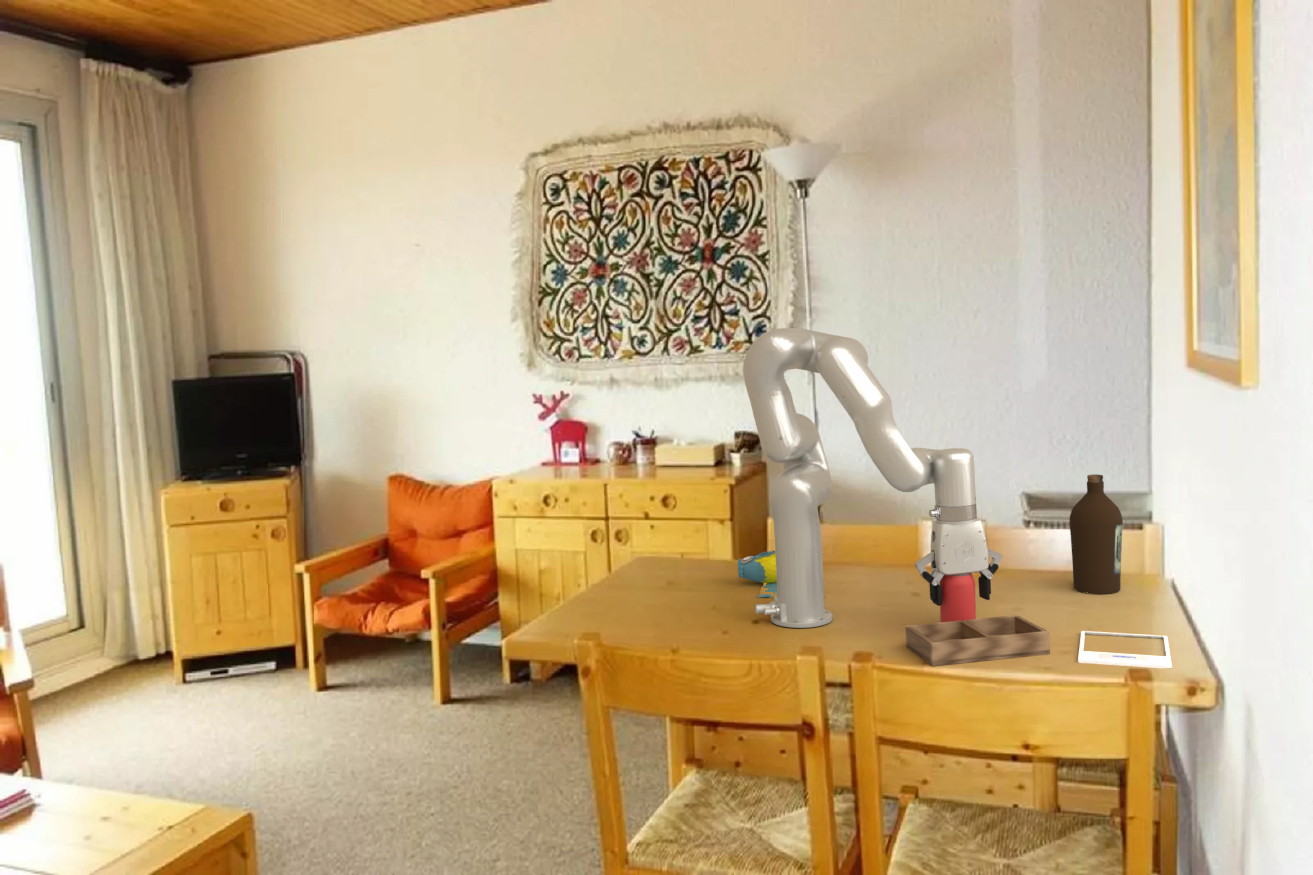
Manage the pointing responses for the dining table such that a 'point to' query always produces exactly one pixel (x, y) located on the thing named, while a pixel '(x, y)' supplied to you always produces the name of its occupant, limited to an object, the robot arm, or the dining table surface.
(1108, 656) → the photo frame
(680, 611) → the dining table surface
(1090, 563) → the olive oil
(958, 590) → the beer can
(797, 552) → the robot arm
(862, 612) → the dining table surface
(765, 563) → the fish figurine
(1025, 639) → the crate
